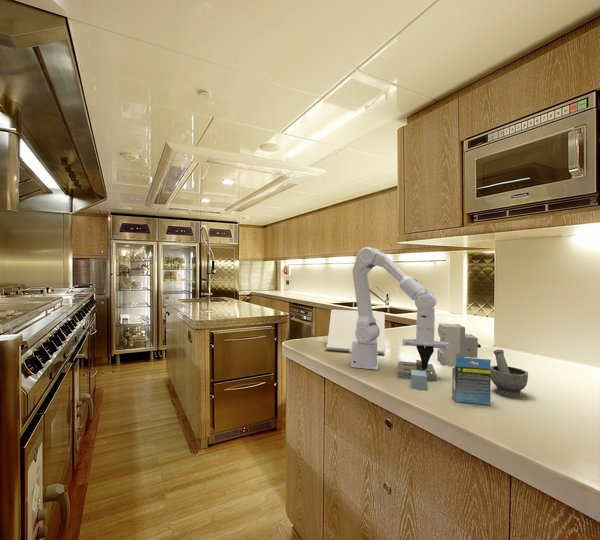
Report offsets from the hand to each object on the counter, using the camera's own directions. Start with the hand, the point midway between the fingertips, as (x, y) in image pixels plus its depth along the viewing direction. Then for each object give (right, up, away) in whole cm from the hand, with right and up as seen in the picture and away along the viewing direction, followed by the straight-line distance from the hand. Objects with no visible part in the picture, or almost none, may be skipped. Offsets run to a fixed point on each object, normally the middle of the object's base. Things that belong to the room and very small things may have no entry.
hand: (424, 368), depth 110 cm
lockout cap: (-5, -3, -9) cm, 11 cm away
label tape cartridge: (+5, -3, -20) cm, 21 cm away
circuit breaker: (+20, -4, +17) cm, 27 cm away
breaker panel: (-2, -3, +4) cm, 5 cm away
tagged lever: (-2, -1, +1) cm, 2 cm away
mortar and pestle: (+20, -4, -13) cm, 24 cm away
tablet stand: (-17, -3, +38) cm, 42 cm away
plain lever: (+2, -1, +6) cm, 6 cm away
